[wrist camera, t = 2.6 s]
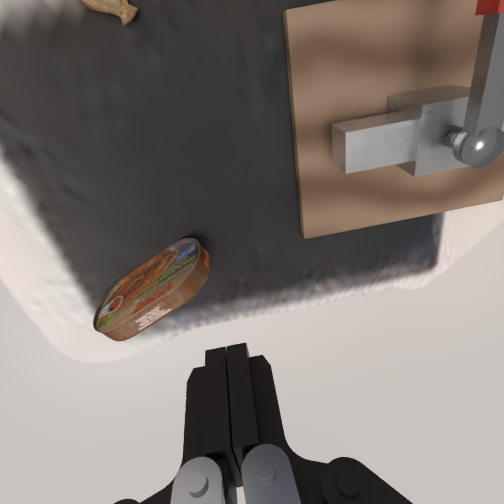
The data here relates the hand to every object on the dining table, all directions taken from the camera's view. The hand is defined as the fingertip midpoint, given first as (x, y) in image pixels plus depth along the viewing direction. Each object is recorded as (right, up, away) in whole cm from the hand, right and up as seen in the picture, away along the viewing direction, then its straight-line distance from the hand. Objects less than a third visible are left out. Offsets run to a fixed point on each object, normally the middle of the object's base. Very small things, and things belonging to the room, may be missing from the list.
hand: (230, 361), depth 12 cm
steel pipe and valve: (+17, +17, +21) cm, 32 cm away
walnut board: (+17, +18, +22) cm, 33 cm away
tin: (-11, +2, +28) cm, 30 cm away
